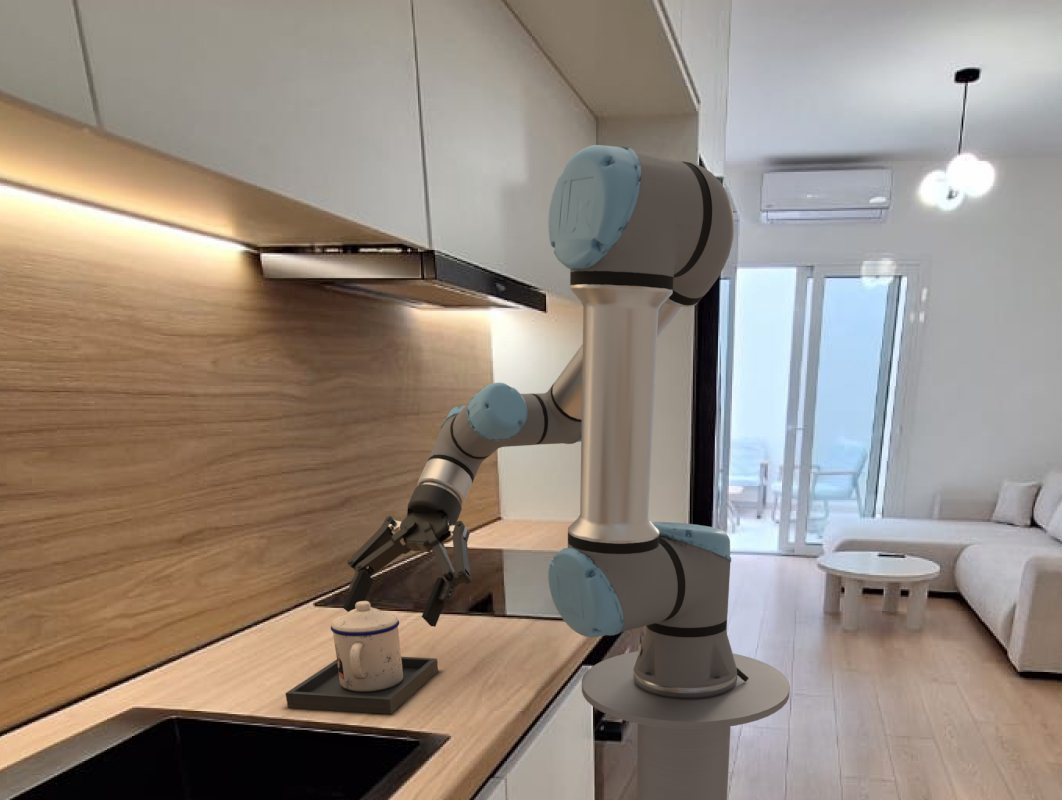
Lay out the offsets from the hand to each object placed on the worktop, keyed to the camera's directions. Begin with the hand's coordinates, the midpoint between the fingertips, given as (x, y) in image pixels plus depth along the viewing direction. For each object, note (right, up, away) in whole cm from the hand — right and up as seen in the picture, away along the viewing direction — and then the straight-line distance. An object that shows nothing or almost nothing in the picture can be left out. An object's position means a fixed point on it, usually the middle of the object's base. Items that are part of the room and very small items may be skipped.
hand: (388, 617), depth 116 cm
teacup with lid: (-2, -10, -2) cm, 10 cm away
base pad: (-2, -10, -2) cm, 11 cm away
